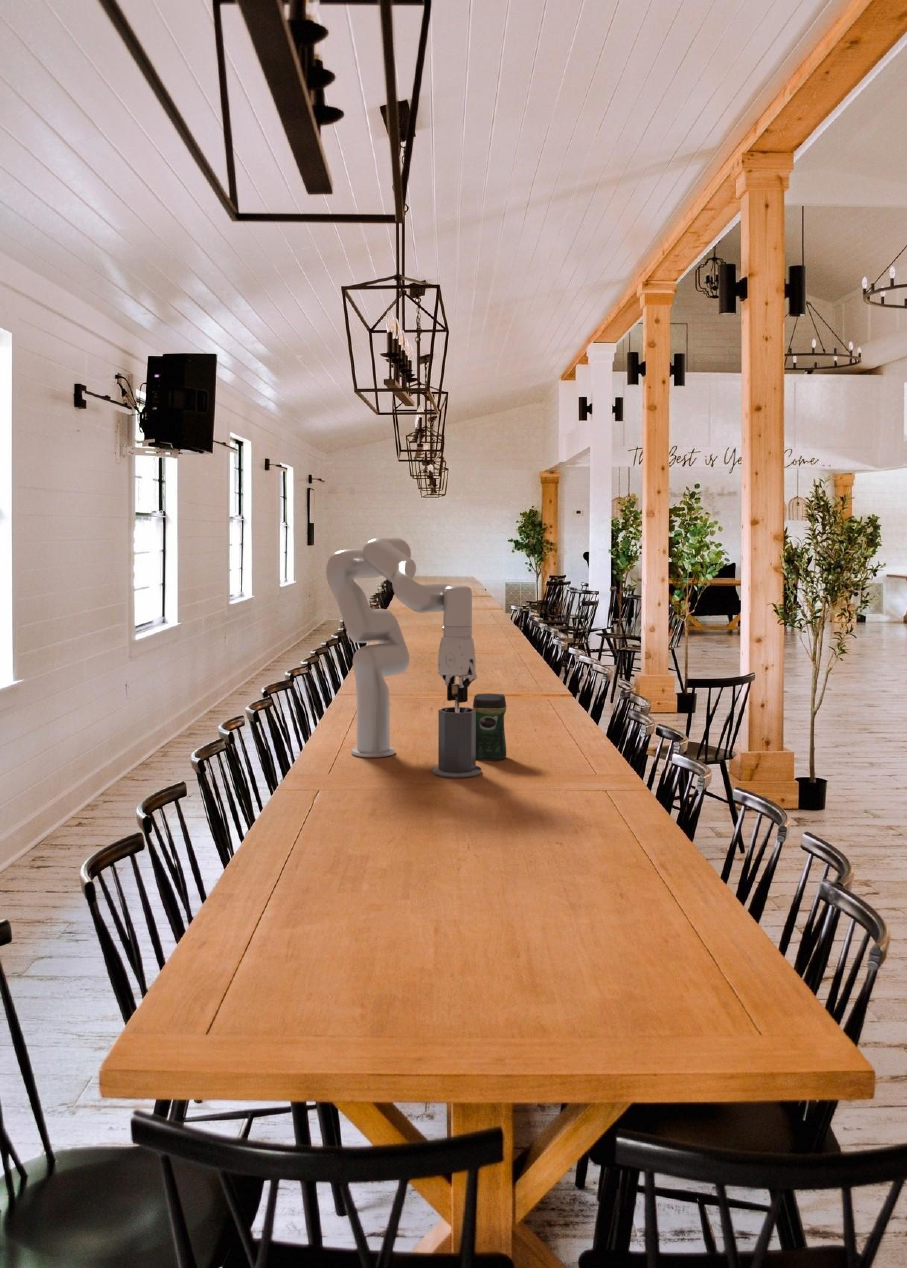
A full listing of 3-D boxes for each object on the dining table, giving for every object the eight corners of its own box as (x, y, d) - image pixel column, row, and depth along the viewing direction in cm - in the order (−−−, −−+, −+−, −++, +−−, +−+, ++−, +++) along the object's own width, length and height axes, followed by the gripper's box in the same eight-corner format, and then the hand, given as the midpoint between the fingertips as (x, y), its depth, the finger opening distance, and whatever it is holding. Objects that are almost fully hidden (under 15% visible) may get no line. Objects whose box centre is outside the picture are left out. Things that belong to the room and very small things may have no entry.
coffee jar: (507, 755, 299) (508, 691, 297) (504, 761, 292) (505, 696, 290) (474, 754, 301) (474, 690, 299) (470, 760, 293) (471, 695, 291)
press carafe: (423, 768, 283) (423, 707, 281) (466, 764, 288) (466, 703, 286) (445, 780, 270) (445, 716, 268) (489, 775, 275) (490, 712, 274)
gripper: (425, 631, 278) (425, 699, 279) (470, 636, 266) (470, 706, 268) (445, 629, 283) (445, 695, 285) (490, 633, 271) (489, 703, 273)
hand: (457, 700), depth 276 cm, fingers closed on plunger, 3 cm apart
